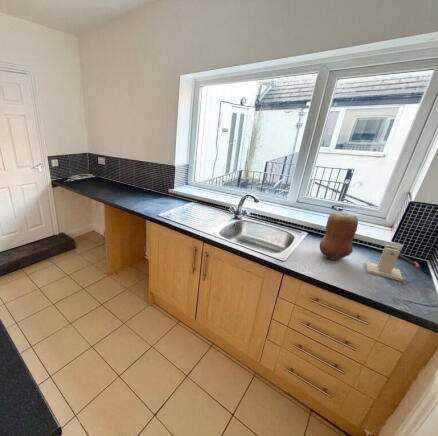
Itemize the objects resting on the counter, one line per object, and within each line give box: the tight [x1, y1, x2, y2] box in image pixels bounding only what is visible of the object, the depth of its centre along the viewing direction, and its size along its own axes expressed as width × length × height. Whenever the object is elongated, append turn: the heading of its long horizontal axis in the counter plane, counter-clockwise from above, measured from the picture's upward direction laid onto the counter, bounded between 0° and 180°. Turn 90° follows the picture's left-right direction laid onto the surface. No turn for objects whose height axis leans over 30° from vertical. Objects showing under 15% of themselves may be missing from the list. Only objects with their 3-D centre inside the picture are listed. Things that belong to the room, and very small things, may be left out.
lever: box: [389, 247, 421, 270], centre depth 110 cm, size 12×5×2 cm, turn 53°
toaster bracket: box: [365, 244, 404, 282], centre depth 113 cm, size 12×10×13 cm
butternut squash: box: [319, 212, 359, 261], centre depth 122 cm, size 14×13×25 cm
